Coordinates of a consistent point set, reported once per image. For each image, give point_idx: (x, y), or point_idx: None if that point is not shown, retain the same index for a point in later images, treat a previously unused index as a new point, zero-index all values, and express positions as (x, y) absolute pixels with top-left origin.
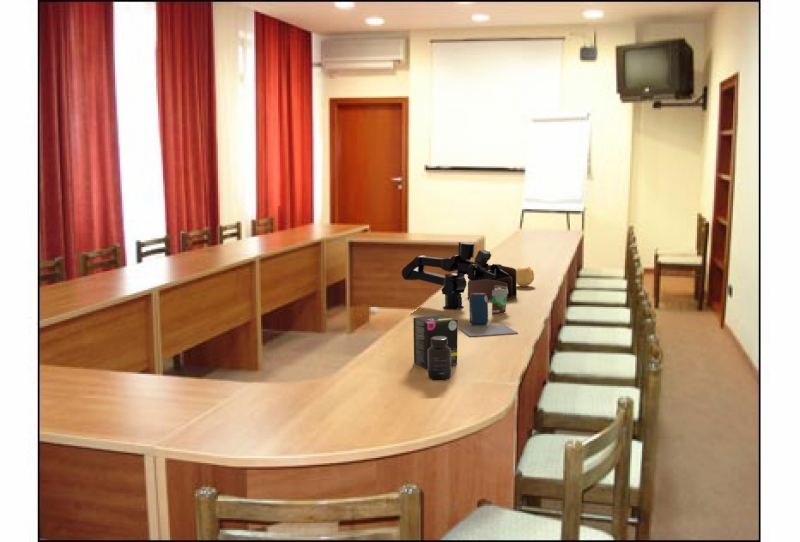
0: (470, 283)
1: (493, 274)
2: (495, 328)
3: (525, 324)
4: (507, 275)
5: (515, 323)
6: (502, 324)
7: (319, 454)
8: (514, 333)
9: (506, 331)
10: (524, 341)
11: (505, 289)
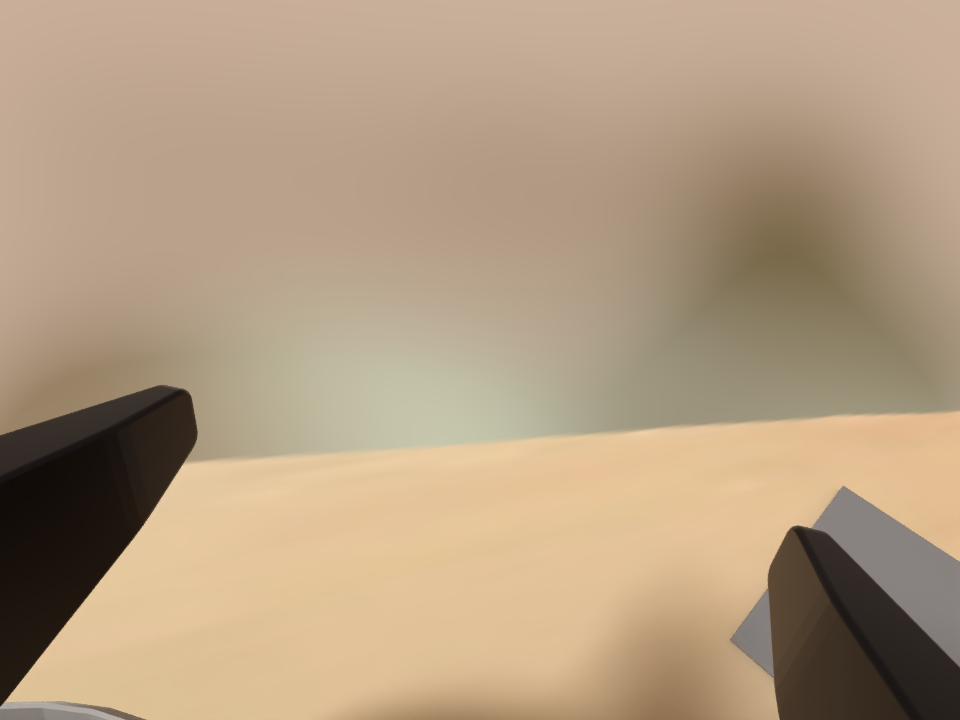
0: None
1: (839, 555)
2: None
3: (588, 504)
4: (174, 428)
5: (604, 575)
6: (748, 645)
7: None
8: (863, 502)
9: (886, 551)
10: (920, 434)
11: (74, 710)
